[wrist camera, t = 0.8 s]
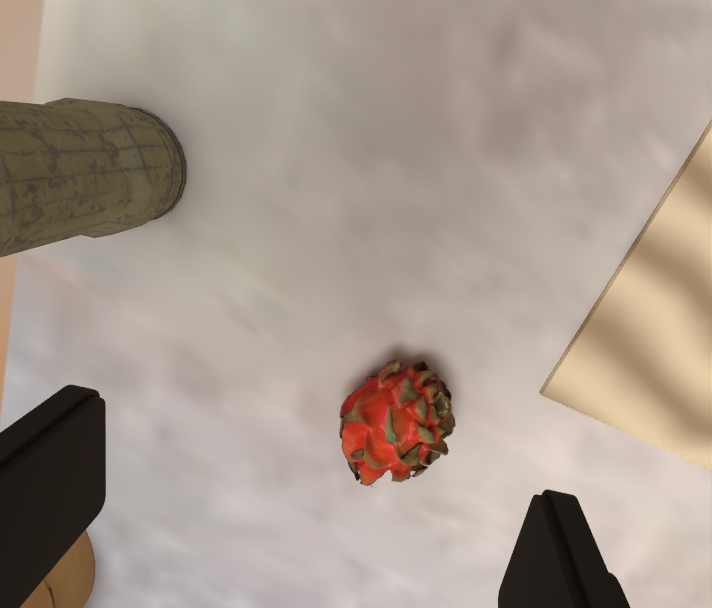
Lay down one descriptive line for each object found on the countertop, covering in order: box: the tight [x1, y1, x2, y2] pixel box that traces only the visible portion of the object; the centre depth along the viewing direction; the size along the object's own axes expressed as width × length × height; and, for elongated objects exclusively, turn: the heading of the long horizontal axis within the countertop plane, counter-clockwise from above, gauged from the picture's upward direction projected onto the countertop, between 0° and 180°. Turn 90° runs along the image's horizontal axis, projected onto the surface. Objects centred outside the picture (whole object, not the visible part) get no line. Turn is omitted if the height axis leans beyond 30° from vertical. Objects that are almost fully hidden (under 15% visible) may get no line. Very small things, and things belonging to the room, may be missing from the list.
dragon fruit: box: [340, 360, 455, 487], centre depth 40 cm, size 8×8×12 cm
